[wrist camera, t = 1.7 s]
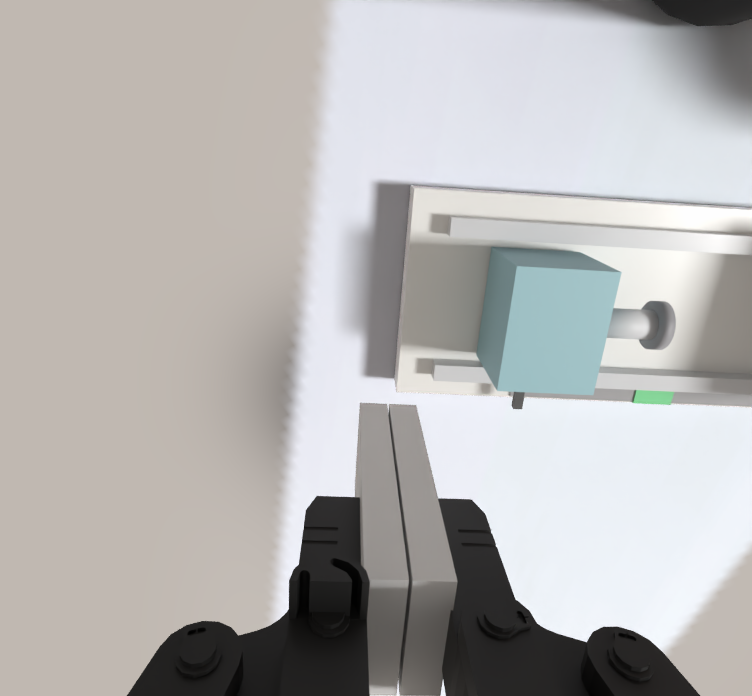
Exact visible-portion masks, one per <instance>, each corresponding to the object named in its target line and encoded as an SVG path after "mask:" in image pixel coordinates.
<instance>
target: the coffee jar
mask: <svg viewBox="0 0 752 696" xmlns="http://www.w3.org/2000/svg"><path fill="white" fill-rule="evenodd" d="M652 1H653V2H654V3H655V4H656V5H658V6H659V7H660V8H661V9H662V10H663V11H664V12H665V13H666V14H668V15H670V16H673V17H675V18H678V19H681V20H683V21H686V22H689V23H691V24H694V25H697V26H716V25H733V24H736V23H739V22H742V21H745V20H749V19H752V0H652Z"/></svg>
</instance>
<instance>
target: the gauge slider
mask: <svg viewBox="0 0 752 696" xmlns="http://www.w3.org/2000/svg"><path fill="white" fill-rule="evenodd" d="M621 273H622V272H620V271H618V270H616V269H614V268H612V267H610V266H608V265H606V264H604V263H602V262H600V261H598V260H595V259H593V258H591V257H589V256H587V255H585V254H583V253H581V252H571V251H554V250H538V249H521V248H504V247H491V254H490V261H489V268H488V275H487V282H486V289H485V296H484V304H483V311H482V318H481V325H480V332H479V339H478V346H477V353H476V355H477V357H478V359H479V360H480V362H481V364H482V366H483V367H484V369H485V371H486V373H487V374H488V376H489V378H490V380H491V381H492V383H493V385H494V387H495V388H496V390H497V391H507V392H514V395H513V401H512V407H513V409H522V406H523V400H524V394H525V392H530V393H552V394H575V395H594V390H595V386H596V382H597V377H598V373H599V369H600V364H601V360H602V356H603V351H604V347H605V343H606V338H619V339H638V340H639V342H640V344H641V345H642V346H643V347H644V348H645V349H651V350H663V349H665V348H666V347H667V346H668V345H669V344H670V343H671V341H672V339H673V337H674V333H675V328H676V317H675V313H674V310H673V308H672V306H671V305H670V304H669V303H668V302H665V301H649V302H647V303H646V304H645V305H644V306H643V307H642V309H622V308H614V303H615V299H616V295H617V290H618V286H619V282H620V277H621Z"/></svg>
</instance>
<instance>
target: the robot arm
mask: <svg viewBox="0 0 752 696" xmlns="http://www.w3.org/2000/svg"><path fill="white" fill-rule="evenodd" d="M398 680H399V692H400V696H440V694H441V687H442V681H443V680H444V686H445V692H446V696H700V695H699V694H698V693H697V692H696V690H695V689H694V688H693V687H692V686H691V684H690V683H689V682H688V681H687V680H686V679H685V678H684V676H683V675H682V674H681V673H680V672H679V671H678V669H677V668H676V667H675V666H674V665H673V664H672V663H671V661H670V660H669V659H668V658H667V657H666V656H665V654H664V653H663V652H662V651H661V650H660V649H658V648H657V647H656V646H655V645H654V644H653V643H652V642H651V641H650V640H648V639H646V638H645V637H643V636H641V635H639V634H637V633H636V632H634V631H631V630H627V629H624V628H620V627H602V628H600V629H598V630H596V631H594V632H593V633H592V634H591V636H590V638H589V639H588V641H587V642H583V641H580V640H577V639H573V638H570V637H566V636H563V635H560V634H557V633H554V632H552V631H549V630H547V629H545V628H543V627H541V626H540V625H538V624H537V623H536V621H535V619H534V618H533V616H532V614H531V613H530V611H529V610H528V609H526V608H525V607H524V606H523V605H522V604H521V603H519V602H518V601H516V600H515V597H514V595H513V592H512V589H511V586H510V583H509V580H508V578H507V575H506V572H505V569H504V566H503V563H502V561H501V558H500V555H499V552H498V549H497V547H496V544H495V541H494V538H493V535H492V534H491V529H490V527H489V524H488V521H487V518H486V515H485V513H484V512H483V511H482V510H481V509H480V508H479V507H478V506H477V505H476V504H475V503H474V502H473V501H472V500H469V499H438V496H437V492H436V488H435V484H434V479H433V475H432V471H431V467H430V462H429V458H428V454H427V450H426V446H425V441H424V437H423V433H422V429H421V424H420V420H419V416H418V412H417V407H416V405H398V404H389V414H388V408H387V404H375V403H360V412H359V428H358V444H357V461H356V477H355V497H329V496H317V497H316V498H315V499H314V501H313V502H312V503H311V504H310V506H309V507H308V508H307V510H306V515H305V522H304V530H303V538H302V545H301V553H300V560H299V565H298V566H297V567H296V568H295V569H294V570H293V573H292V575H291V578H290V580H289V610H288V611H287V613H286V614H285V615H284V616H283V617H282V618H281V619H280V620H278V621H277V622H275V623H273V624H272V625H270V626H268V627H266V628H263V629H260V630H258V631H254V632H251V633H247V634H243V635H239V636H238V635H237V634H236V632H235V631H234V630H233V629H232V628H231V627H229V626H227V625H224V624H222V623H220V622H212V621H201V622H197V623H193V624H190V625H186V626H185V627H183V628H181V629H179V630H178V631H176V632H174V633H173V634H171V635H170V636H169V637H168V638H167V640H166V641H165V642H164V643H163V644H162V645H161V646H160V647H159V649H158V650H157V652H156V653H155V655H154V656H153V658H152V659H151V661H150V662H149V664H148V665H147V667H146V668H145V670H144V671H143V673H142V674H141V676H140V677H139V679H138V680H137V682H136V683H135V685H134V686H133V688H132V689H131V691H130V692H129V694H128V695H127V696H370V695H396V693H397V684H398Z"/></svg>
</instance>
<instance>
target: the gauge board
mask: <svg viewBox="0 0 752 696" xmlns="http://www.w3.org/2000/svg"><path fill="white" fill-rule="evenodd" d="M491 247H504V248H521V249H538V250H554V251H571V252H581V253H583V254H585V255H587V256H589V257H591V258H593V259H595V260H598V261H600V262H602V263H604V264H606V265H608V266H610V267H612V268H614V269H616V270H618V271H620V272H622V273H621V277H620V282H619V286H618V290H617V295H616V299H615V303H614V308H622V309H642V307H643V306H644V305H645V304H646V303H647V302H649V301H665V302H668V303H669V304H670V305H671V306H672V308H673V310H674V313H675V317H676V328H675V333H674V337H673V339H672V341H671V343H670V344H669V345H668V346H667V347H666V348H665V349H663V350H651V349H645V348H644V347H643V346H642V345H641V344H640V342H639V340H638V339H619V338H606V343H605V347H604V351H603V356H602V360H601V364H600V369H599V373H598V377H597V382H596V386H595V390H594V395H575V394H552V393H530V392H525V394H524V398H544V399H566V400H589V401H612V402H633V403H643V404H666V405H671V404H681V405H703V406H726V407H749V408H752V208H746V207H730V206H715V205H700V204H685V203H670V202H655V201H640V200H625V199H609V198H594V197H579V196H564V195H549V194H534V193H519V192H504V191H489V190H473V189H458V188H443V187H428V186H413V185H411V188H410V200H409V211H408V223H407V235H406V247H405V259H404V270H403V282H402V294H401V306H400V317H399V329H398V341H397V353H396V364H395V376H394V380H395V386H396V392H406V393H429V394H452V395H475V396H498V397H513V395H514V392H507V391H497V390H496V388H495V387H494V385H493V383H492V381H491V380H490V378H489V376H488V374H487V373H486V371H485V369H484V367H483V366H482V364H481V362H480V360H479V359H478V357H477V355H476V353H477V346H478V339H479V332H480V325H481V318H482V311H483V304H484V296H485V289H486V282H487V275H488V268H489V261H490V254H491Z"/></svg>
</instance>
